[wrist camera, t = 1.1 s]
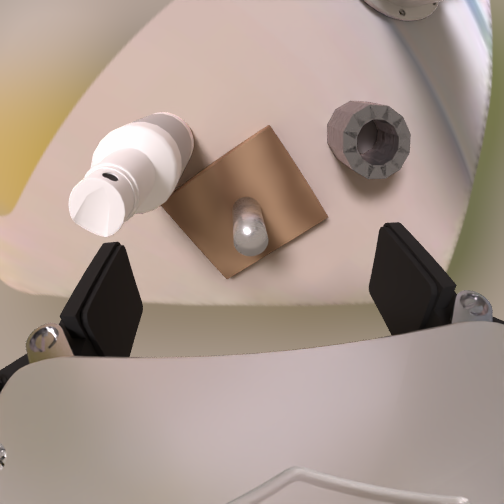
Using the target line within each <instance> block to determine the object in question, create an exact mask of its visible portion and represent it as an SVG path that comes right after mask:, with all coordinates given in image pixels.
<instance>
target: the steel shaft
mask: <svg viewBox="0 0 504 504" xmlns="http://www.w3.org/2000/svg"><path fill="white" fill-rule="evenodd" d="M232 214H233V239H234V246H235V248H236V250H237V251H238V252H239V253H240V254H242V255H245V256H256V255H259V254H260V253H262V252H263V251H264V250H265V249H266V247H267V245H268V236H267V232H266V228H265V224H264V220H263V216H262V212H261V208H260V205H259V203H258V202H257V201H256V200H255V199H254V198H251V197H242V198H240V199H238V200H237V201H236V202H235V203H234V205H233V208H232Z"/></svg>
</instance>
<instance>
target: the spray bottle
mask: <svg viewBox="0 0 504 504" xmlns="http://www.w3.org/2000/svg"><path fill="white" fill-rule="evenodd" d="M193 148H194V138H193V135H192V132H191V129H190V127H189V126H188V125H187V124H186V122H185V121H184V120H183V119H181V118H180V117H178V116H177V115H174V114H171V113H167V112H160V113H154V114H151V115H149V116H146V117H144V118H141V119H139V120H136V121H134V122H132V123H129V124H127V125H124V126H122V127H120V128H118V129H115V130H113V131H111V132H110V133H109V134H108V135H106V136H105V137H104V138H103V139H102V140H101V141H100V143H99V145H98V146H97V148H96V150H95V152H94V154H93V158H92V164H91V169H90V170H89V171H88V172H87V173H86V175H85V177H84V179H83V180H81V181H80V182H79V183H78V184H77V185H76V186H75V187H74V188H73V190H72V192H71V194H70V197H69V211H70V215H71V218H72V220H73V221H74V222H75V223H76V224H78V225H80V226H81V227H82V228H84V229H86V230H88V231H90V232H92V233H94V234H96V235H99V236H103V237H109V236H111V235H114V234H115V233H116V232H117V231H118V230H120V228H121V227H122V225H123V224H124V222H126V221H127V220H129V219H130V218H131V217H132V216H133V215H134V214H143V213H146V212H149V211H152V210H155V209H156V208H158V207H159V206H160V205H162V204H163V203H164V202H166V201H167V199H168V198H169V197H170V195H171V194H172V192H173V191H174V189H175V187H176V185H177V183H178V181H179V179H180V177H181V175H182V173H183V171H184V169H185V167H186V165H187V163H188V161H189V159H190V157H191V154H192V151H193Z"/></svg>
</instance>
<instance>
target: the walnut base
mask: <svg viewBox="0 0 504 504" xmlns="http://www.w3.org/2000/svg"><path fill="white" fill-rule="evenodd" d="M242 197H251V198H254V199H255V200H256V201H257V202H258V203H259V205H260V208H261V212H262V216H263V220H264V224H265V228H266V232H267V236H268V245H267V247H266V249H265V250H264V251H263V252H262V253H260V254H259V255H256V256H245V255H242V254H240V253H239V252H238V251H237V250H236V248H235V246H234V239H233V214H232V208H233V205H234V203H235V202H236V201H237V200H238V199H240V198H242ZM161 206H162V207H163V208H164V209H165V211H166V212H167V213H168V214H169V215H170V216H171V217H172V219H173V220H174V221H175V222H176V223H177V224H178V225H179V227H180V228H181V229H182V230H183V231H184V232H185V233H186V235H187V236H188V237H189V238H190V239H191V240H192V241H193V242H194V244H195V245H196V246H197V247H198V248H199V249H200V250H201V251H202V252H203V254H204V255H205V256H206V257H207V258H208V259H209V260H210V261H211V262H212V264H213V265H214V266H215V267H216V268H217V269H218V270H219V271H220V272H221V273H222V275H223V276H224V277H225V278H226V279H229V278H230V277H232V276H234V275H235V274H237V273H238V272H240V271H242V270H243V269H245V268H247V267H248V266H250V265H252V264H253V263H255V262H257V261H258V260H260V259H261V258H263V257H265V256H266V255H268V254H270V253H271V252H273V251H274V250H276V249H278V248H279V247H281V246H283V245H284V244H286V243H287V242H289V241H291V240H292V239H294V238H296V237H297V236H299V235H300V234H302V233H304V232H305V231H307V230H309V229H310V228H312V227H313V226H315V225H317V224H318V223H320V222H321V221H323V220H325V219H326V218H328V216H327V214H326V212H325V211H324V209H323V207H322V206H321V204H320V202H319V201H318V199H317V197H316V196H315V194H314V193H313V191H312V189H311V188H310V186H309V184H308V183H307V181H306V180H305V178H304V176H303V175H302V173H301V172H300V170H299V169H298V167H297V166H296V164H295V162H294V161H293V159H292V158H291V156H290V155H289V153H288V152H287V150H286V149H285V147H284V146H283V144H282V143H281V141H280V140H279V138H278V137H277V135H276V134H275V132H274V131H273V129H272V128H271V127H270V126H269V125H268V126H267V127H265V128H263V129H262V130H260V131H259V132H257V133H256V134H254V135H253V136H251V137H250V138H248V139H247V140H245V141H244V142H242V143H241V144H239V145H238V146H236V147H235V148H233V149H232V150H230V151H229V152H228V153H226V154H225V155H223V156H222V157H220V158H219V159H217V160H216V161H215V162H213V163H212V164H210V165H209V166H208V167H206V168H205V169H203V170H202V171H201V172H199V173H198V174H197V175H195V176H194V177H193V178H191V179H190V180H189V181H187V182H186V183H185V184H183V185H182V186H181V187H179V188H178V189H177V190H175V191H174V192H173V193H172V194H171V195H170V197H169V198H168V199H167V201H166V202H164V203H163V204H162V205H161Z"/></svg>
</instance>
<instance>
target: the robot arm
mask: <svg viewBox="0 0 504 504" xmlns="http://www.w3.org/2000/svg"><path fill="white" fill-rule="evenodd" d="M364 1H365V2H366V3H367V4H368V5H370V6H371V7H373V8H374V9H376V10H377V11H379V12H381V13H383V14H384V15H386V16H389V17H392V18H395V19H398V20H404V21H415V20H420V19H423V18H426V17H428V16H429V15H431V14H432V13H433V12H434V11H435V10H436V8H437V6H438V4H439V1H444V0H364ZM399 13H400V14H399ZM455 288H456V284H455V283H454V282H453V280H452V279H451V278H450V277H449V276H448V275H447V273H446V272H445V271H444V270H443V269H442V267H441V266H440V265H439V264H438V263H437V262H436V261H435V260H434V258H433V257H432V256H431V255H430V254H429V253H428V252H427V251H426V250H425V248H424V247H423V246H422V245H421V244H420V243H419V242H418V241H417V240H416V239H415V238H414V237H413V236H412V234H411V233H410V232H409V231H408V230H407V229H406V228H405V227H404V226H403V225H402V224H401V223H399V222H397V223H385V224H384V226H383V227H381V228H380V230H379V235H378V241H377V247H376V253H375V258H374V263H373V269H372V274H371V279H370V283H369V292H370V295H371V297H372V299H373V300H374V302H375V304H376V306H377V308H378V310H379V312H380V314H381V315H382V317H383V319H384V321H385V323H386V325H387V327H388V329H389V331H390V333H391V335H392V336H386V337H381V338H375V339H369V340H363V341H357V342H350V343H343V344H337V345H328V346H321V347H313V348H304V349H295V350H285V351H275V352H264V353H252V354H236V355H221V356H220V355H219V356H198V357H130V353H131V349H132V345H133V342H134V339H135V335H136V332H137V328H138V325H139V322H140V318H141V315H142V311H143V305H142V301H141V298H140V295H139V292H138V288H137V285H136V282H135V279H134V276H133V272H132V269H131V266H130V262H129V259H128V255H127V252H126V249H125V247H124V246H123V245H120V243H119V242H111V243H104V244H103V245H102V246H101V248H100V249H99V251H98V252H97V254H96V255H95V257H94V259H93V260H92V262H91V263H90V265H89V266H88V268H87V270H86V271H85V273H84V275H83V276H82V278H81V280H80V281H79V283H78V285H77V286H76V288H75V290H74V291H73V293H72V295H71V297H70V298H69V300H68V302H67V304H66V306H65V307H64V309H63V311H62V313H61V315H60V318H61V321H60V323H59V325H58V324H55V323H48V324H44V325H41V326H39V327H38V328H36V329H35V330H34V331H33V332H32V333H31V334H30V335H29V337H28V339H27V341H26V351H27V354H26V355H24V356H22V357H21V358H19V359H18V360H16V361H14V362H13V363H11V364H10V365H8V366H6V367H5V368H3V369H2V370H0V504H504V321H502V320H499V319H497V318H495V317H492V306H491V304H490V302H489V301H488V300H487V299H486V298H485V297H484V296H482V295H481V294H479V293H477V292H474V291H469V290H464V291H461V292H459V293H458V294H456V293H455V291H454V290H455Z"/></svg>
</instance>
